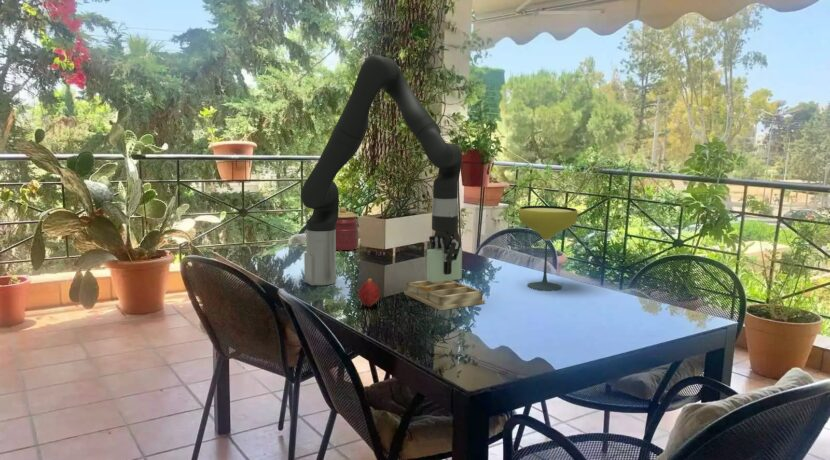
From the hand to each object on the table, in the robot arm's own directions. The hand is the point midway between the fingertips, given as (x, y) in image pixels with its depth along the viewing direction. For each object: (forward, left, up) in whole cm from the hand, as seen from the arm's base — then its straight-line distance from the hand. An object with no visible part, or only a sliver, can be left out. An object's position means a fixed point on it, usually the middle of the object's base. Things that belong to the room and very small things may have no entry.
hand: (444, 272), depth 178 cm
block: (0, 0, -2) cm, 2 cm away
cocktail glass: (+37, -2, -8) cm, 38 cm away
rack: (0, 0, -8) cm, 8 cm away
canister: (+7, +89, -8) cm, 90 cm away
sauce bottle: (+18, +23, -8) cm, 30 cm away
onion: (-23, +2, -8) cm, 25 cm away
